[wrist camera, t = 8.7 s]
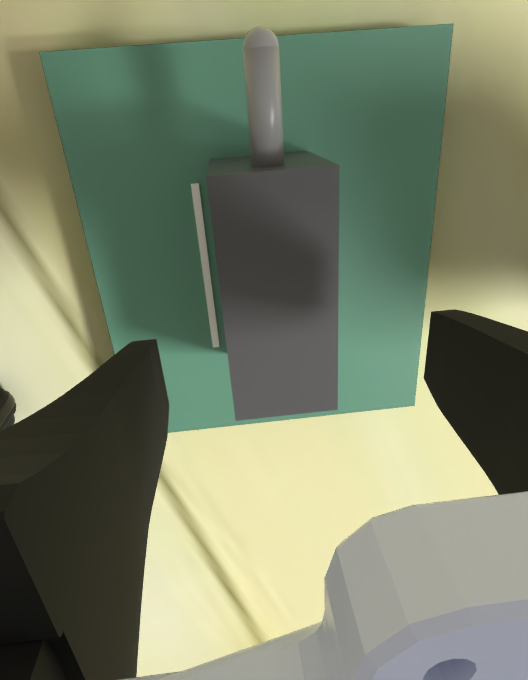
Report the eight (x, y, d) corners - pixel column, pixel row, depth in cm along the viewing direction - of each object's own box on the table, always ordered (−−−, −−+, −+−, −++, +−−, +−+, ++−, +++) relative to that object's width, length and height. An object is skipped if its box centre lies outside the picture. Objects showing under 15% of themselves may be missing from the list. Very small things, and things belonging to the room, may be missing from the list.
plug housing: (305, 40, 15) (340, 11, 11) (312, 345, 21) (337, 409, 16) (196, 48, 15) (187, 21, 11) (231, 354, 21) (235, 420, 16)
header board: (434, 30, 17) (501, 5, 13) (403, 389, 24) (440, 444, 20) (54, 57, 16) (-1, 39, 12) (140, 417, 24) (123, 480, 20)
